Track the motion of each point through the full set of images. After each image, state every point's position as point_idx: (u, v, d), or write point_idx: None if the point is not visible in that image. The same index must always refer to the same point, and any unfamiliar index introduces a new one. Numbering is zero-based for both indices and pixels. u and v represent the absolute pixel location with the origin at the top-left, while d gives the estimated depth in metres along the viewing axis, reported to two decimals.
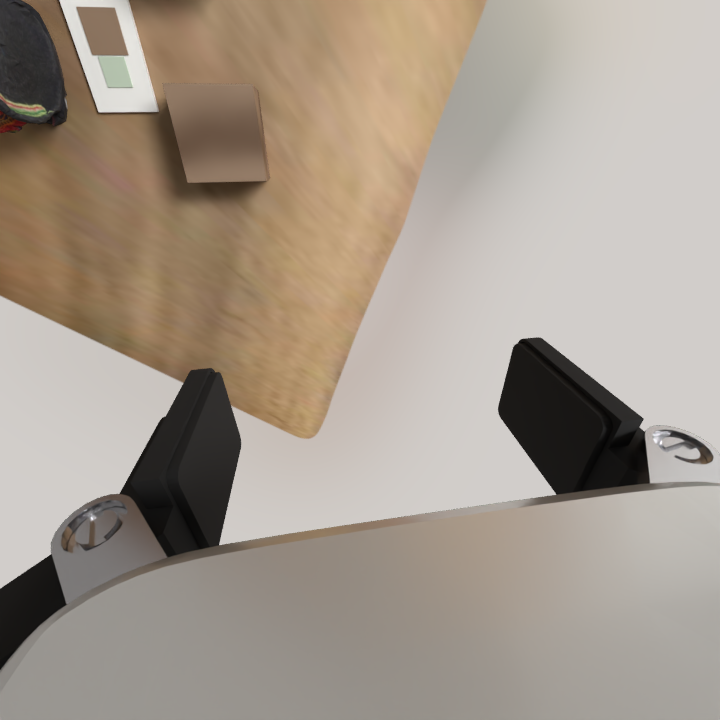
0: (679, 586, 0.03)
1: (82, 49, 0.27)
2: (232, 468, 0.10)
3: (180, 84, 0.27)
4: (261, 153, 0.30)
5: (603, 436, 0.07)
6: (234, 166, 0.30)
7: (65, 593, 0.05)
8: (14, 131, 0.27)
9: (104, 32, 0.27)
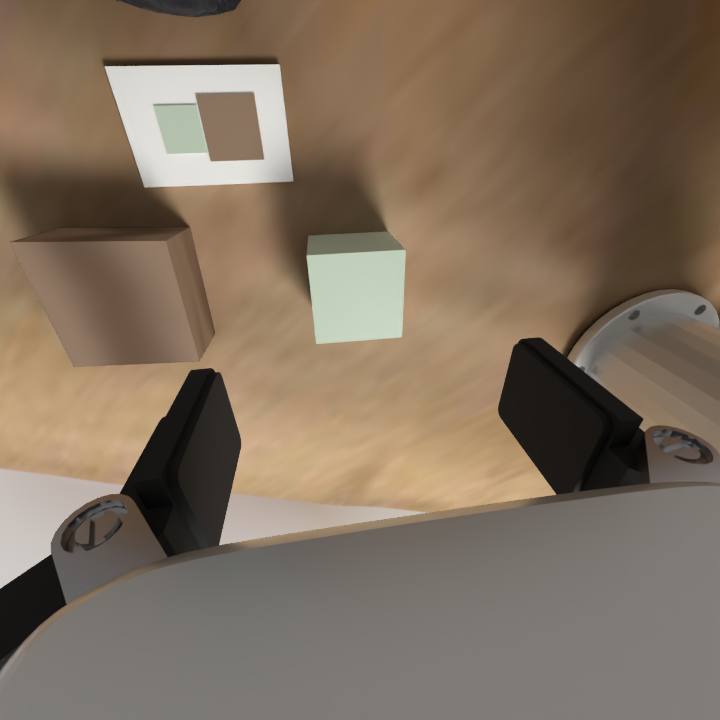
0: (679, 586, 0.03)
1: (199, 77, 0.16)
2: (232, 468, 0.10)
3: (172, 268, 0.17)
4: (113, 363, 0.20)
5: (603, 436, 0.07)
6: (77, 325, 0.18)
7: (65, 593, 0.05)
8: None
9: (231, 130, 0.17)
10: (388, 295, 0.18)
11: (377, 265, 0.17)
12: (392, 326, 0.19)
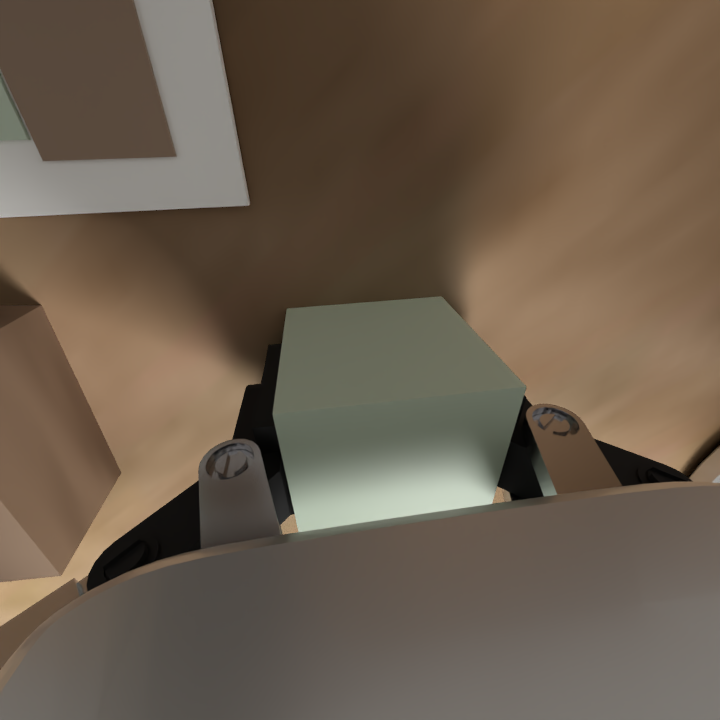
0: (679, 586, 0.03)
1: None
2: None
3: None
4: None
5: None
6: None
7: (200, 508, 0.06)
8: None
9: (80, 83, 0.07)
10: (469, 470, 0.08)
11: (453, 421, 0.07)
12: None
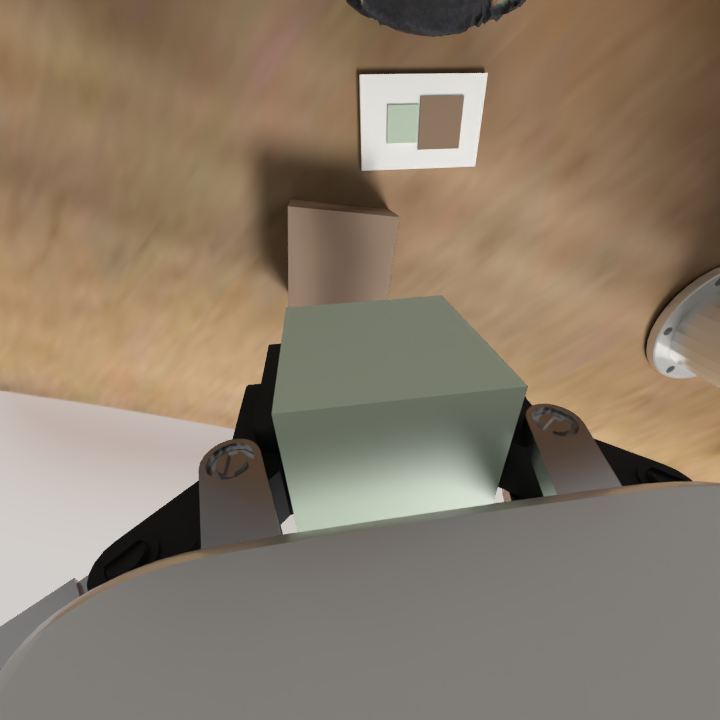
0: (678, 586, 0.03)
1: (426, 82, 0.20)
2: None
3: (395, 239, 0.22)
4: None
5: None
6: (307, 279, 0.22)
7: (201, 507, 0.06)
8: None
9: (439, 125, 0.22)
10: (470, 470, 0.08)
11: (454, 421, 0.07)
12: None
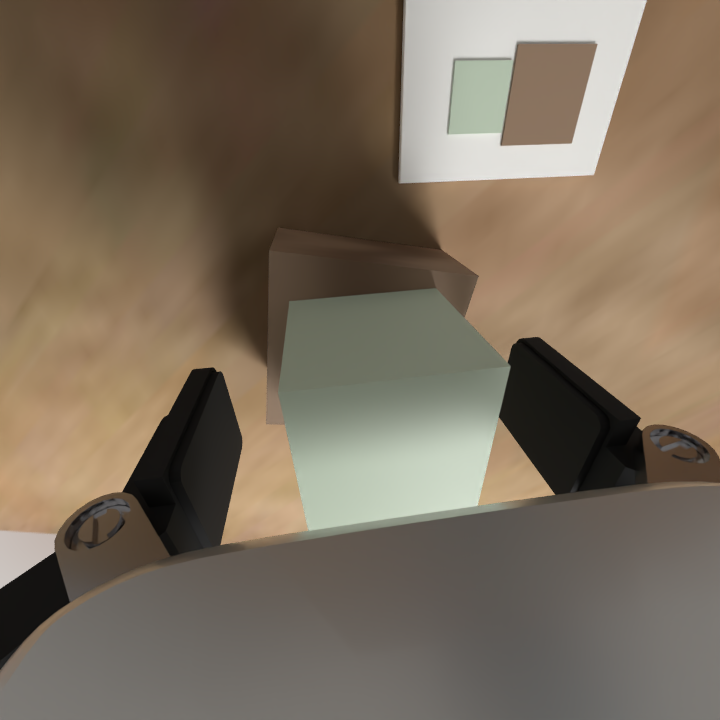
0: (679, 586, 0.03)
1: (532, 17, 0.11)
2: (233, 467, 0.10)
3: (464, 312, 0.12)
4: None
5: (600, 435, 0.07)
6: None
7: (68, 591, 0.05)
8: None
9: (545, 100, 0.12)
10: (461, 447, 0.08)
11: (443, 399, 0.07)
12: (461, 493, 0.09)
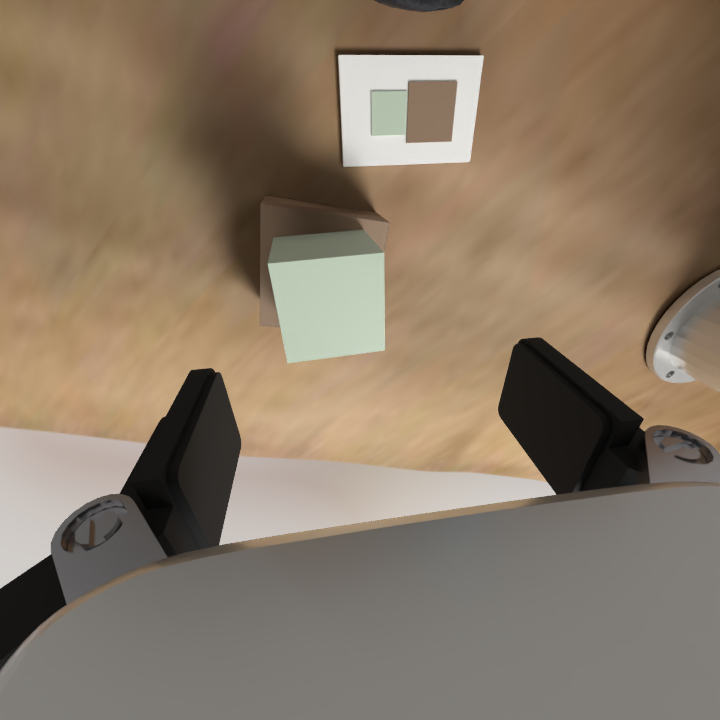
0: (679, 587, 0.03)
1: (415, 66, 0.18)
2: (232, 468, 0.10)
3: (383, 247, 0.19)
4: None
5: (603, 436, 0.07)
6: None
7: (65, 593, 0.05)
8: None
9: (430, 115, 0.19)
10: (367, 304, 0.16)
11: (352, 272, 0.15)
12: (373, 339, 0.17)
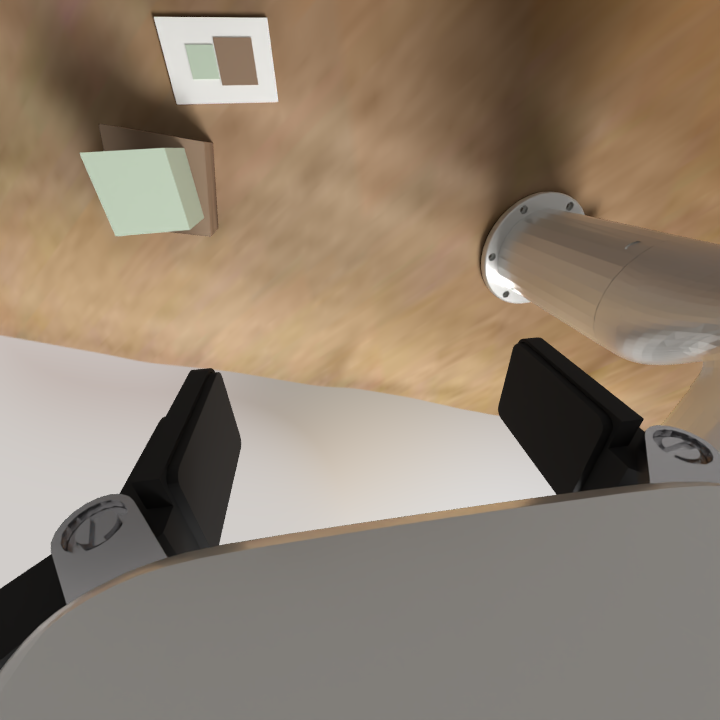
0: (678, 586, 0.03)
1: (215, 25, 0.25)
2: (232, 468, 0.10)
3: (204, 162, 0.26)
4: None
5: (603, 436, 0.07)
6: None
7: (65, 593, 0.05)
8: None
9: (236, 63, 0.26)
10: (164, 189, 0.22)
11: (145, 162, 0.21)
12: (178, 219, 0.24)
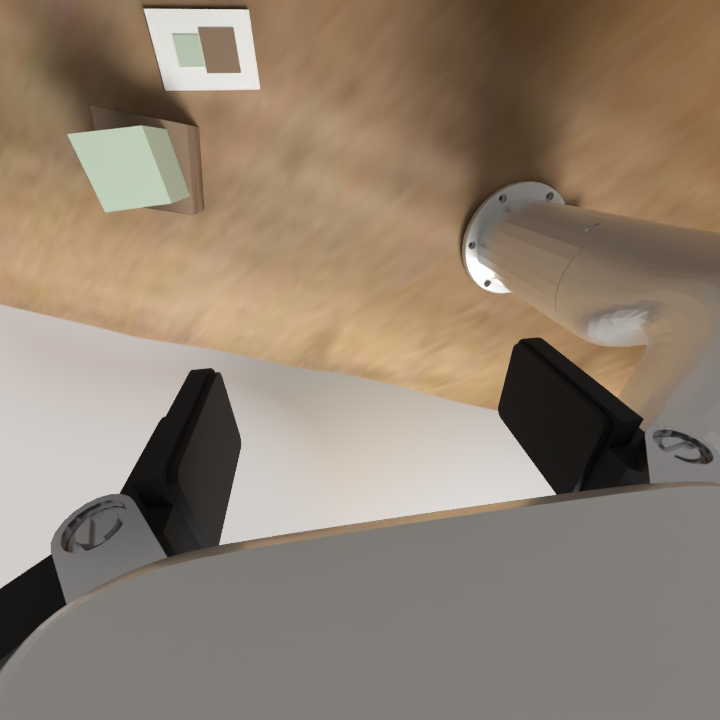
0: (678, 586, 0.03)
1: (200, 16, 0.27)
2: (232, 468, 0.10)
3: (187, 143, 0.28)
4: None
5: (603, 436, 0.07)
6: None
7: (65, 593, 0.05)
8: None
9: (219, 52, 0.28)
10: (145, 165, 0.24)
11: (125, 140, 0.23)
12: (159, 193, 0.25)
